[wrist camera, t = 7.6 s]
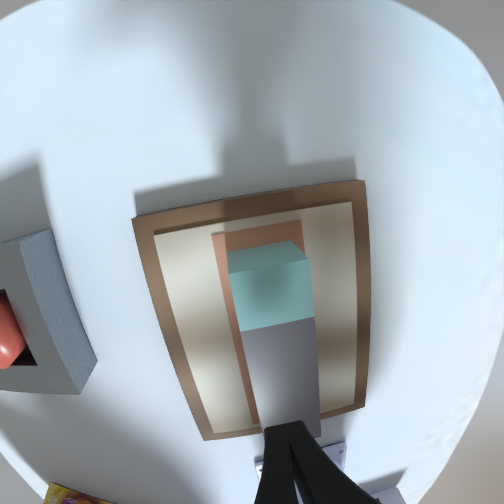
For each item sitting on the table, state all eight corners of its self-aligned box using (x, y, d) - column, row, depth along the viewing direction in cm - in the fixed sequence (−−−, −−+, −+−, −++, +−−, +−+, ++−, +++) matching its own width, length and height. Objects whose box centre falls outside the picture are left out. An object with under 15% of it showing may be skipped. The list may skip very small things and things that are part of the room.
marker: (308, 413, 18) (321, 447, 15) (262, 423, 18) (269, 458, 15) (290, 240, 15) (309, 258, 12) (226, 252, 15) (228, 274, 12)
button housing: (97, 361, 17) (80, 394, 14) (9, 363, 17) (-11, 388, 13) (51, 227, 15) (18, 242, 11) (-33, 254, 14) (-63, 269, 11)
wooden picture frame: (359, 398, 20) (366, 409, 19) (203, 431, 19) (203, 443, 18) (356, 179, 16) (367, 180, 14) (136, 216, 15) (129, 220, 14)
